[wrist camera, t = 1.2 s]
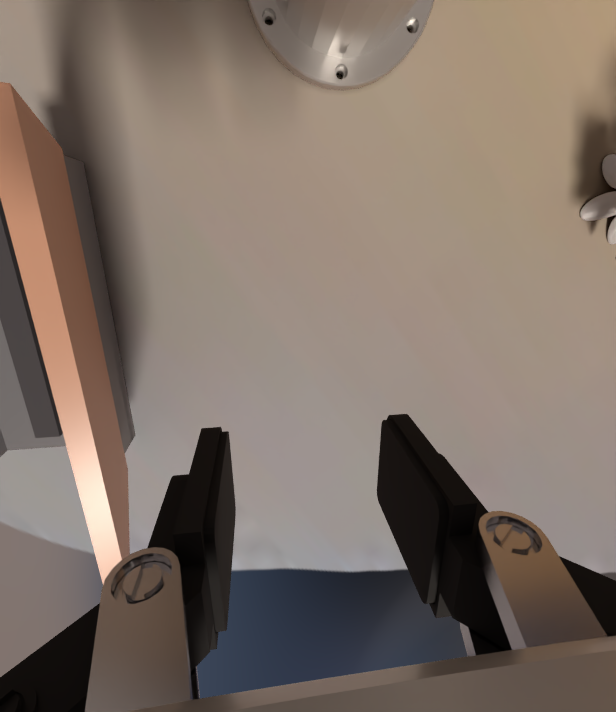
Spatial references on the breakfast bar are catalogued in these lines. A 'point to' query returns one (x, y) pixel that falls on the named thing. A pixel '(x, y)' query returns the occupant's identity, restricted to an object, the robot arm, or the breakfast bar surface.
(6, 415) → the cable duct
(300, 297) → the breakfast bar surface
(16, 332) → the grey plastic bar
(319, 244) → the breakfast bar surface
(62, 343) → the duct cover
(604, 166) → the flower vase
